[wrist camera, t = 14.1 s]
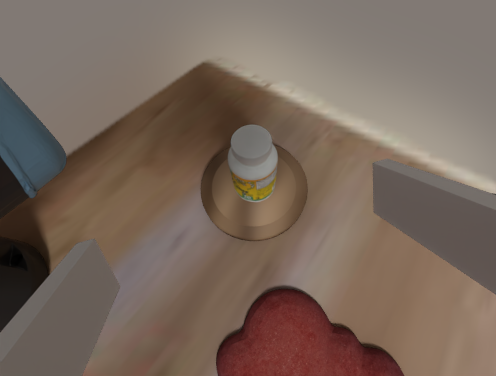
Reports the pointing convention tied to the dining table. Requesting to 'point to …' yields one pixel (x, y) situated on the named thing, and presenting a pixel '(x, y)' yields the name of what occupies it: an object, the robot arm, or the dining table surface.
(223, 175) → the plate
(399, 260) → the dining table surface
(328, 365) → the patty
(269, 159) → the supplement bottle
